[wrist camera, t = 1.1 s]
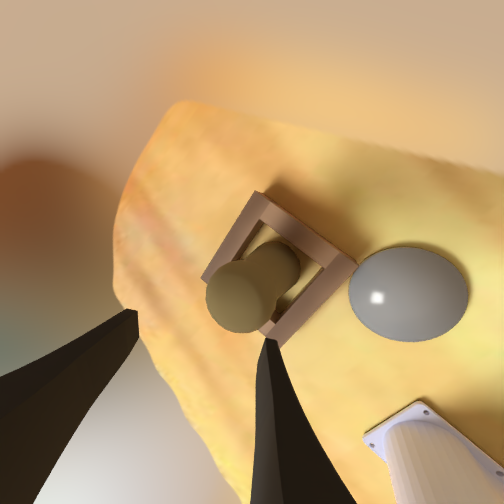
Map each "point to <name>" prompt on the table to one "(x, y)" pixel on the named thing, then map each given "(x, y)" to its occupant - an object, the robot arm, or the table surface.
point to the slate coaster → (408, 294)
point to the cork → (251, 287)
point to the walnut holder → (305, 239)
